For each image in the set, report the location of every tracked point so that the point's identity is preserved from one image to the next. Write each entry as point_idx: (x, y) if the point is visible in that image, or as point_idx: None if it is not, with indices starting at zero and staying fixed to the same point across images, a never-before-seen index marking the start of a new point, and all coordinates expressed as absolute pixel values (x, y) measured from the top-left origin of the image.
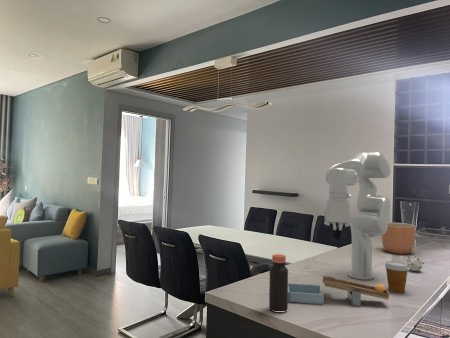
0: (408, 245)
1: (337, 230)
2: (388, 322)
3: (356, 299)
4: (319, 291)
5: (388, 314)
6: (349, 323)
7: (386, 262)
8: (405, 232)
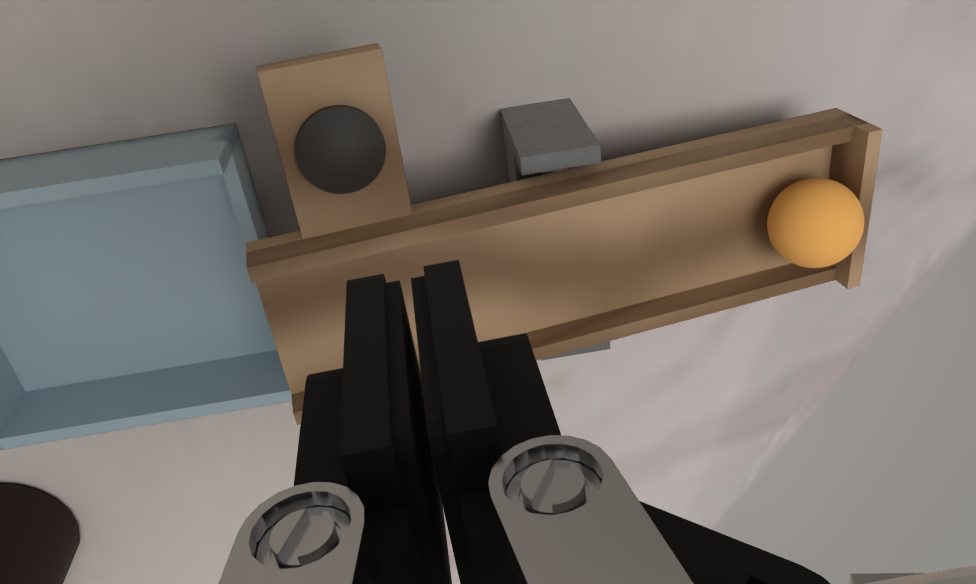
0: None
1: (460, 579)
2: (695, 464)
3: None
4: (231, 185)
5: (740, 355)
6: None
7: None
8: None
